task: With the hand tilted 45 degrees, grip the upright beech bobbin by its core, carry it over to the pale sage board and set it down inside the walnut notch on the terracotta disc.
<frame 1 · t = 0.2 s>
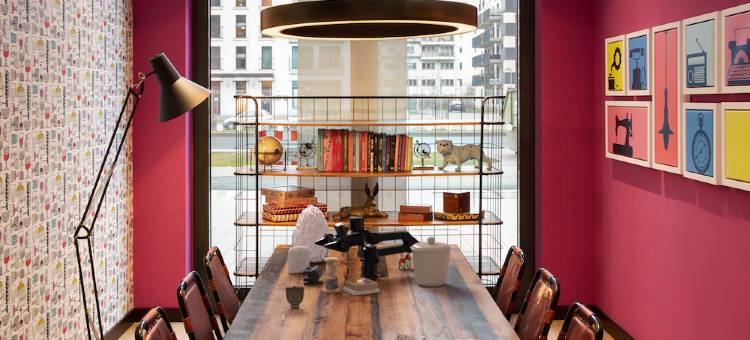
hand: (319, 244, 381), 17 cm above the table, tool horizontal, fingers open, 9 cm apart
toy house: (402, 270, 413), on the table
cup: (294, 308, 336), on the table
rice ball: (311, 260, 433), on the table
board: (361, 291, 365), on the table
end cap: (313, 283, 382), on the table
bobbin: (331, 291, 365), on the table
canister: (430, 285, 379), on the table
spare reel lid: (364, 284, 380), on the table
photo printer: (298, 272, 404), on the table
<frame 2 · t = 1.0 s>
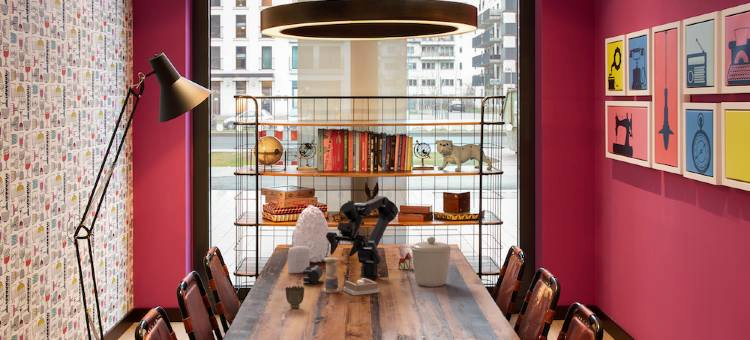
hand: (340, 255, 372), 14 cm above the table, tool tilted 45°, fingers open, 9 cm apart
nothing on the table moved.
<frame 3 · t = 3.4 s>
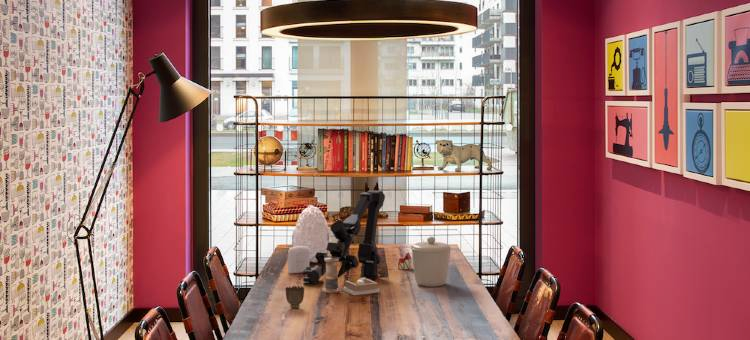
hand: (329, 276, 364), 7 cm above the table, tool tilted 45°, fingers open, 7 cm apart
bobbin: (331, 291, 365), on the table, touching gripper
everything else where it was.
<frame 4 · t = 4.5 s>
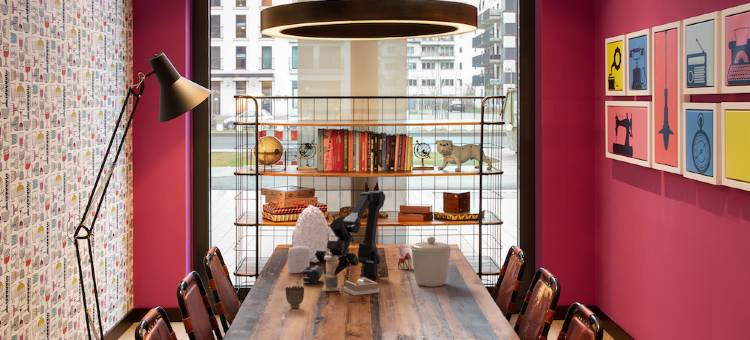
hand: (329, 274, 363), 7 cm above the table, tool tilted 45°, fingers closed on bobbin, 5 cm apart
bobbin: (331, 289, 365), point 1 cm above the table, touching gripper
everything else where it was.
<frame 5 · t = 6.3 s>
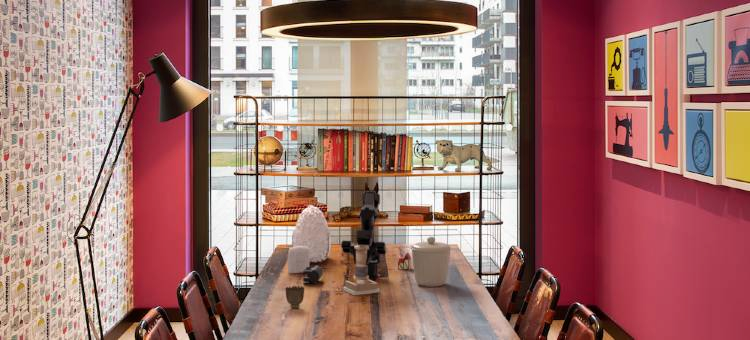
hand: (360, 263, 363), 12 cm above the table, tool tilted 45°, fingers closed on bobbin, 5 cm apart
bobbin: (361, 278, 365), point 5 cm above the table, touching gripper
everything else where it was.
when the fingers open (9 cm above the table, at t = 7.1 s): bobbin drops 1 cm, resting on board.
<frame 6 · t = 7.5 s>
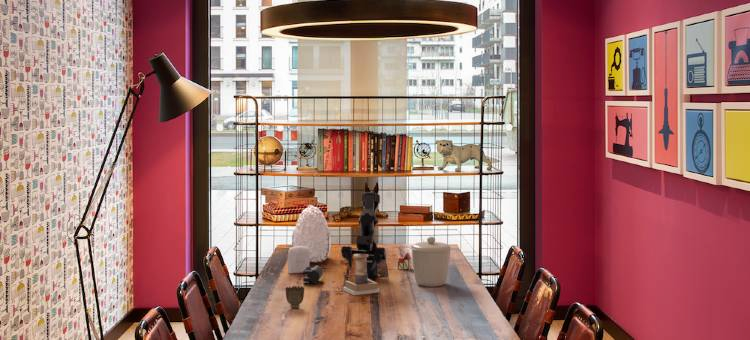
hand: (360, 269, 363), 10 cm above the table, tool tilted 45°, fingers open, 9 cm apart
bobbin: (361, 287, 365), point 2 cm above the table, touching board
everything else where it was.
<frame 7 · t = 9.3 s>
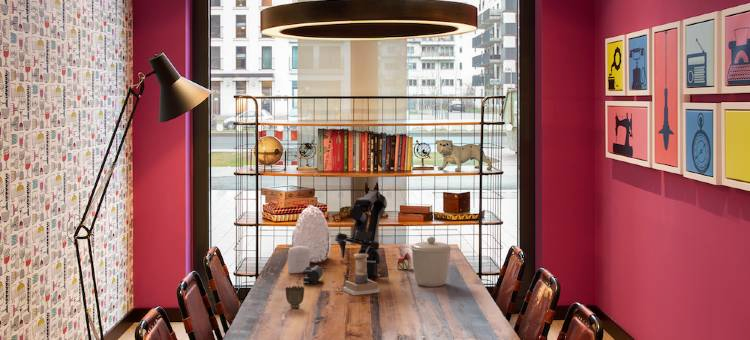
hand: (353, 261, 374), 11 cm above the table, tool tilted 25°, fingers open, 9 cm apart
nothing on the table moved.
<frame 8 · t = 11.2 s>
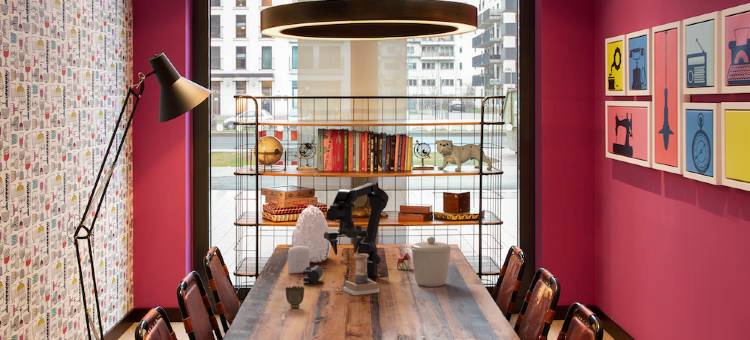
hand: (345, 254, 379), 13 cm above the table, tool pointing down, fingers open, 9 cm apart
at the end: bobbin 0.2 cm off-centre on the board, point 1.7 cm above the board's base; bobbin tilted 0°; the gripper is holding nothing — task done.
